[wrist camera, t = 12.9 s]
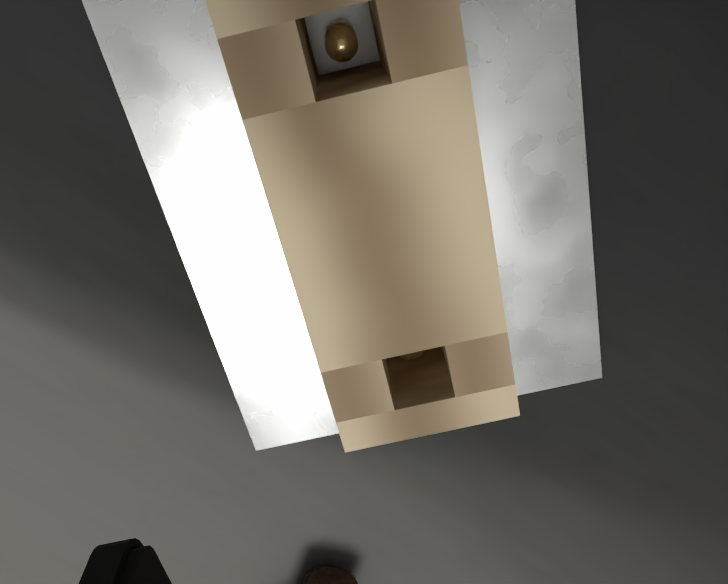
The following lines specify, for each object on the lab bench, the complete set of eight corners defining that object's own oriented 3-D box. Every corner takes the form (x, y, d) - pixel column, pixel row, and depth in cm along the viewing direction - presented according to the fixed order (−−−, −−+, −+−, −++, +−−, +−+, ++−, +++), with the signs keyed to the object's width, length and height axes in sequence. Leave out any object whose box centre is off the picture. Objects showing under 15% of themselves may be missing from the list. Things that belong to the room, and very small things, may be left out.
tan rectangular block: (421, -71, 21) (446, -81, 16) (489, 343, 28) (520, 415, 24) (226, -21, 21) (199, -18, 17) (342, 375, 28) (345, 452, 24)
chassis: (544, -212, 21) (595, -254, 17) (590, 359, 30) (629, 419, 26) (65, -85, 22) (4, -96, 18) (259, 429, 31) (249, 498, 27)
